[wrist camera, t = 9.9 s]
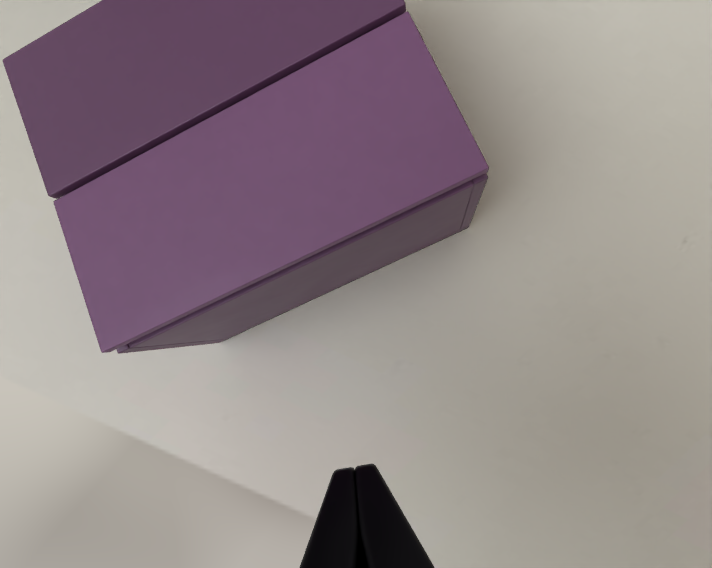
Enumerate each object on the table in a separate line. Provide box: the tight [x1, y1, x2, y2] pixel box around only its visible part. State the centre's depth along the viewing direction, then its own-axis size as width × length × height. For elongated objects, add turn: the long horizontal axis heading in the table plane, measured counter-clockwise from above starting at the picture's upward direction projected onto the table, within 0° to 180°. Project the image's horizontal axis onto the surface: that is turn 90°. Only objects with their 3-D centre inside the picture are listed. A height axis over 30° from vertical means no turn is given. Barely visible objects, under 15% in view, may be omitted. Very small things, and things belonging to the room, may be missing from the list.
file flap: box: [54, 12, 489, 353], centre depth 15 cm, size 6×14×1 cm, turn 114°
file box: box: [3, 0, 488, 353], centre depth 19 cm, size 12×14×8 cm
